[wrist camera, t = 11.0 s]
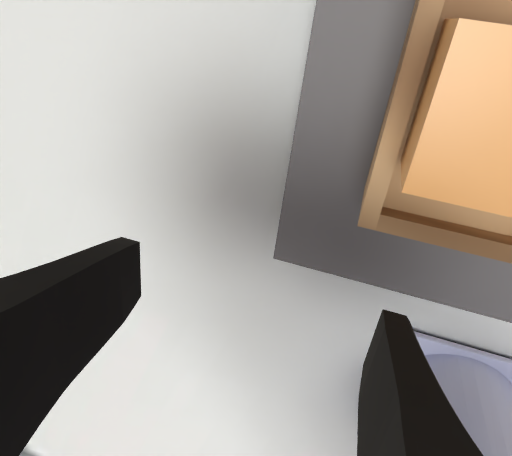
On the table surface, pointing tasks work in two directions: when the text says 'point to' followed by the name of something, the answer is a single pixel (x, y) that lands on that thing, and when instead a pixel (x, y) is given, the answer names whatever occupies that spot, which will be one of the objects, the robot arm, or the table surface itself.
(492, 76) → the light brown block
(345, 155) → the dock
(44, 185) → the table surface
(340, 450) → the table surface
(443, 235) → the pallet
